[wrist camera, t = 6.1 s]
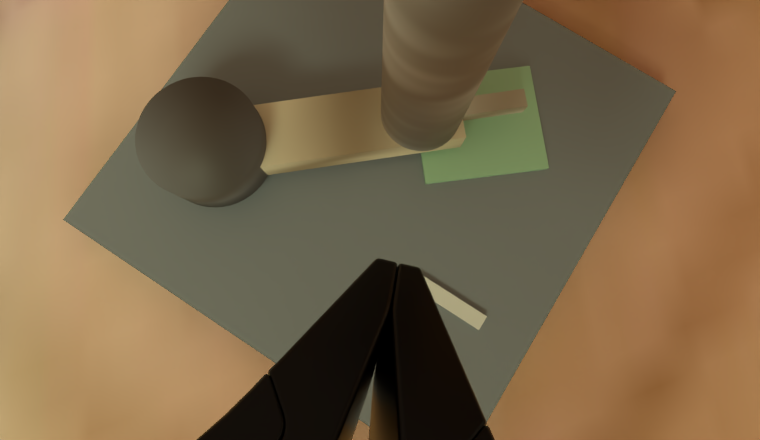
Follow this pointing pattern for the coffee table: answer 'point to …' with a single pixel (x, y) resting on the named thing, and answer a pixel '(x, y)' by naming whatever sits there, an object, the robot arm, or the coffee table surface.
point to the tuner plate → (391, 188)
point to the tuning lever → (333, 108)
